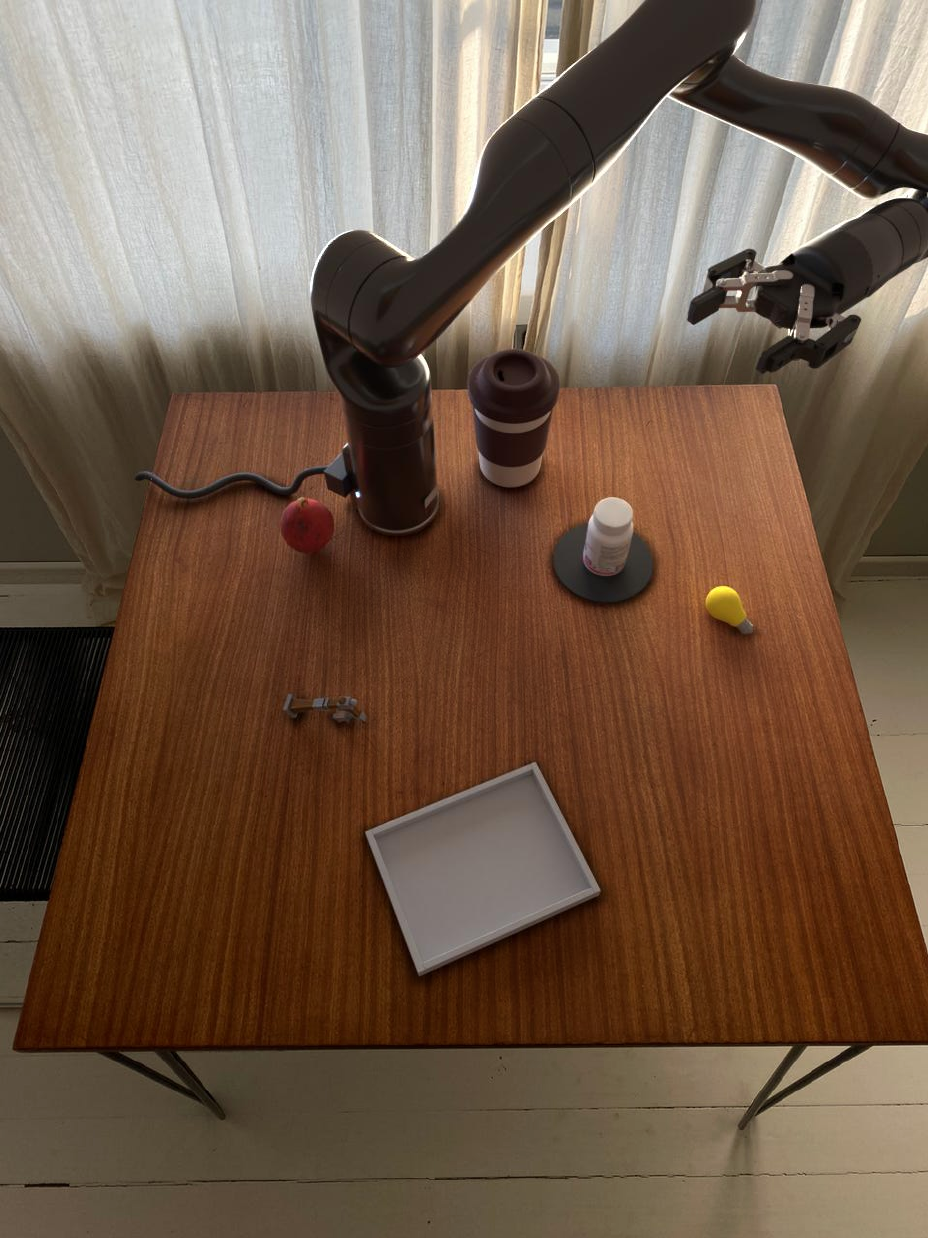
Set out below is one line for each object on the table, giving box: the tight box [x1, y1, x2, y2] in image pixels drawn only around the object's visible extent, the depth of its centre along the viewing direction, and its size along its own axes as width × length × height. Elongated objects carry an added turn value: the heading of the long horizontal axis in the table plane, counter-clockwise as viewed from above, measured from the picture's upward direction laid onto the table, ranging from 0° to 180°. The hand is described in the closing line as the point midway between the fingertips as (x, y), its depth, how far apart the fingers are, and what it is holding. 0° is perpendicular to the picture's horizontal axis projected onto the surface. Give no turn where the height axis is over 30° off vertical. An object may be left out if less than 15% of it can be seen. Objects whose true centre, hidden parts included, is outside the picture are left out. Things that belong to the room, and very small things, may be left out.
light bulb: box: [705, 585, 754, 635], centre depth 92 cm, size 3×6×4 cm
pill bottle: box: [583, 497, 634, 576], centre depth 93 cm, size 5×5×8 cm
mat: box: [552, 522, 654, 605], centre depth 97 cm, size 11×11×1 cm
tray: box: [364, 761, 602, 977], centre depth 78 cm, size 17×13×2 cm
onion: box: [280, 496, 335, 555], centre depth 95 cm, size 6×6×8 cm
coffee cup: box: [467, 348, 561, 488], centre depth 98 cm, size 10×10×15 cm
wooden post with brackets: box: [282, 693, 369, 724], centre depth 86 cm, size 2×8×4 cm, turn 79°
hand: (725, 339), depth 79 cm, fingers open, 8 cm apart
